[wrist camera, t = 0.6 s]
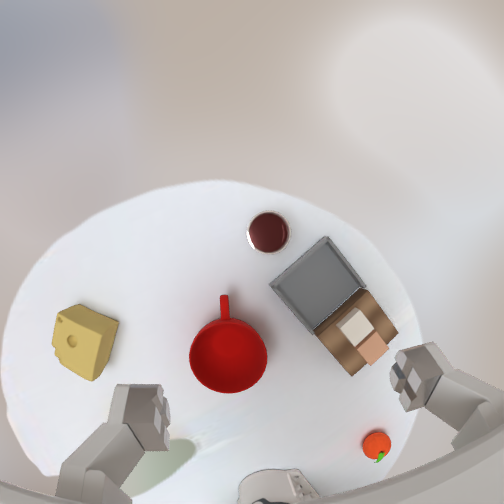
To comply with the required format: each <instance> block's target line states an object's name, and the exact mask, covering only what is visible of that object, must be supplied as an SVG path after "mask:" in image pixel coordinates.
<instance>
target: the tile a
mask: <svg viewBox="0 0 504 504" xmlns="http://www.w3.org/2000/svg"><path fill="white" fill-rule="evenodd" d="M336 326H337V327H338V329H339V330H340V331H341V332H342V333H343V335H344V336H345V337H346V338H347V340H348V341H349V342H350V343H351V344H352V345H353V346H356V345H357V344H358V343H359V342H361V341H362V340H363V339H364V338H365V337H366V336H367V335H368V334H369V333H370V332H371V331H372V330H373V329H374V327H373V326H372V325H371V323H370V322H369V321H368V319H367V318H366V317H365V316H364V314H363V313H362V312H361V310H359V309H357V308H354V309H353V310H352V311H351V312H350V313H348V314H347V315H346V316H345V317H344V318H343V319H342V320H341V321H340V322H339V323H337V324H336Z"/></svg>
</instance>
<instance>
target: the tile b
mask: <svg viewBox="0 0 504 504" xmlns="http://www.w3.org/2000/svg"><path fill="white" fill-rule="evenodd" d="M353 347H354V348H355V349H356V351H357V352H358V353H359V354H360V356H361V357H362V358H363V359H364V361H365V362H366V363H367V364H369V365H370V366H371V365H372V364H373V363H374V362H375V361H377V360H378V359H379V358H380V357H381V356H382V355H383V354H384V353H385V352H386V351H387V350H388V349H389V348H388V346H387V345H386V344H385V342H384V341H383V339H382V338H381V337H380V335H379V334H378V333H377V331H375V330H372V331H371V332H370V333H369V334H368V335H367V336H366V337H365V338H364V339H363V340H362V341H361V342H359V343H358V344H357V345H356V346H353Z"/></svg>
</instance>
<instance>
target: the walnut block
mask: <svg viewBox="0 0 504 504" xmlns="http://www.w3.org/2000/svg"><path fill="white" fill-rule="evenodd" d="M354 308H357V309H359V310H361V312H362V313H363V314H364V316H365V317H366V318H367V319H368V321H369V322H370V323H371V325H372V326H373V327H374V329H373V330H375V331H377V333H378V334H379V335H380V337H381V338H382V339H383V341H384V342H385V344H386V345H387V344H388V343H389V342H390V341H391V340H392V339H393V338H394V337H395V336H396V335H397V334H398V331H397V330H396V328H395V327H394V326H393V324H392V323H391V321H390V320H389V319H388V317H387V316H386V314H385V313H384V312H383V310H382V309H381V307H380V306H379V305H378V303H377V302H376V301H375V299H374V298H373V296H372V295H371V294H370V292H369V291H368V290H365V289H362V288H359V289H358V290H357V291H356V292H355V293H354V294H353V295H352V296H351V297H350V298H349V299H348V300H346V301H345V302H344V303H343V304H342V305H341V306H340V307H339V308H338V309H337V310H335V311H334V312H333V313H332V314H331V315H330V316H329V317H328V318H327V319H325V320H324V321H323V322H322V323H321V324H320V325H319V326H317V327H316V328H315V329H314V330H313V331H314V334H315V335H316V336H317V337H318V339H319V340H320V341H321V342H322V343H323V344H324V346H325V347H326V348H327V349H328V350H329V351H330V352H331V354H332V355H333V356H334V357H335V358H336V359H337V361H338V362H339V363H340V364H341V365H342V366H343V368H344V369H345V370H346V371H347V372H348V373H349V374H350V375H351V376H353V375H354V374H356V373H357V372H358V371H359V370H360V369H361V368H362V367H363V366H364V365H366V364H367V363H366V362H365V361H364V359H363V358H362V357H361V356H360V354H359V353H358V352H357V351H356V349H355V348H354V347H353V345H352V344H351V343H350V342H349V341H348V340H347V338H346V337H345V336H344V335H343V333H342V332H341V331H340V330H339V329H338V327H337V326H336V324H337V323H339V322H340V321H341V320H342V319H343V318H344V317H345V316H346V315H347V314H348V313H350V312H351V311H352V310H353V309H354Z"/></svg>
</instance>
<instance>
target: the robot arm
mask: <svg viewBox="0 0 504 504" xmlns="http://www.w3.org/2000/svg"><path fill="white" fill-rule="evenodd" d="M395 360H396V363H395V364H394V365H393V366H392V367H391V371H390V382H391V385H392V387H393V389H394V391H396V392H398V393H400V396H399V401H400V402H401V404H402V406H403V408H404V410H405V412H409V411H412V410H415V409H418V408H421V407H424V406H425V408H426V409H427V410H429V411H430V412H432V413H433V414H434V415H436V416H437V417H439V418H440V419H442V420H443V421H444V422H446V423H447V424H448V425H450V426H451V427H453V428H454V429H456V430H457V431H458V434H457V435H456V436H455V437H454V439H453V440H452V442H451V444H452V446H453V448H454V450H455V451H453V452H451V453H449V454H447V455H445V456H443V457H441V458H438V459H436V460H434V461H432V462H429V463H427V464H425V465H422V466H420V467H417V468H415V469H413V470H410V471H407V472H405V473H402V474H400V475H397V476H394V477H391V478H388V479H385V480H383V481H380V482H377V483H373V484H370V485H367V486H364V487H360V488H357V489H353V490H350V491H346V492H342V493H339V494H335V495H330V496H326V497H322V498H320V496H319V495H318V493H317V492H316V491H315V490H314V488H313V487H312V486H311V485H310V484H309V482H308V481H307V480H306V479H305V477H304V476H303V475H302V473H301V472H300V471H299V470H298V469H291V470H285V471H283V470H264V471H259V472H256V473H253V474H251V475H249V476H248V477H246V478H245V479H244V480H243V481H242V482H241V484H240V485H239V489H238V491H239V496H240V497H239V499H238V504H504V391H502V390H500V389H498V388H496V387H494V386H492V385H490V384H488V383H485V382H484V381H482V380H480V379H478V378H475V377H473V376H471V375H469V374H467V373H465V372H463V371H461V370H459V369H457V370H455V369H454V368H453V366H452V365H451V363H450V362H449V361H448V359H447V358H446V356H445V355H444V354H443V353H442V351H441V350H440V348H439V347H438V346H437V345H436V343H434V342H429V343H426V344H422V345H418V346H414V347H411V348H407V349H404V350H400V351H398V352H397V353H396V356H395ZM163 392H164V390H163V388H162V386H161V385H160V384H117V385H116V387H115V389H114V394H113V398H112V402H111V407H110V412H109V416H108V421H107V423H102V424H101V425H100V426H99V427H98V428H97V429H96V430H95V431H94V432H93V433H92V434H91V435H90V436H89V437H88V438H87V439H86V440H85V441H84V442H83V443H82V444H81V445H80V446H79V447H78V448H77V449H76V450H75V451H74V452H73V453H72V454H71V455H70V456H69V457H68V458H67V459H66V460H65V461H64V462H63V463H62V466H61V470H60V475H59V479H58V485H57V489H56V495H55V496H52V495H48V494H44V493H41V492H36V491H34V490H30V489H27V488H23V487H20V486H17V485H14V484H12V483H9V482H5V481H3V480H0V504H132V499H131V498H130V497H129V496H128V495H127V494H125V493H124V492H123V491H122V490H121V489H120V487H121V485H122V484H123V482H124V481H125V480H126V478H127V477H128V476H129V474H130V473H131V472H132V470H133V469H134V467H135V466H136V465H137V463H138V462H139V460H140V459H141V458H142V456H143V455H144V453H145V451H169V437H170V435H169V432H168V430H167V427H168V426H169V425H170V408H169V404H168V401H167V399H166V398H165V397H163Z"/></svg>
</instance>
